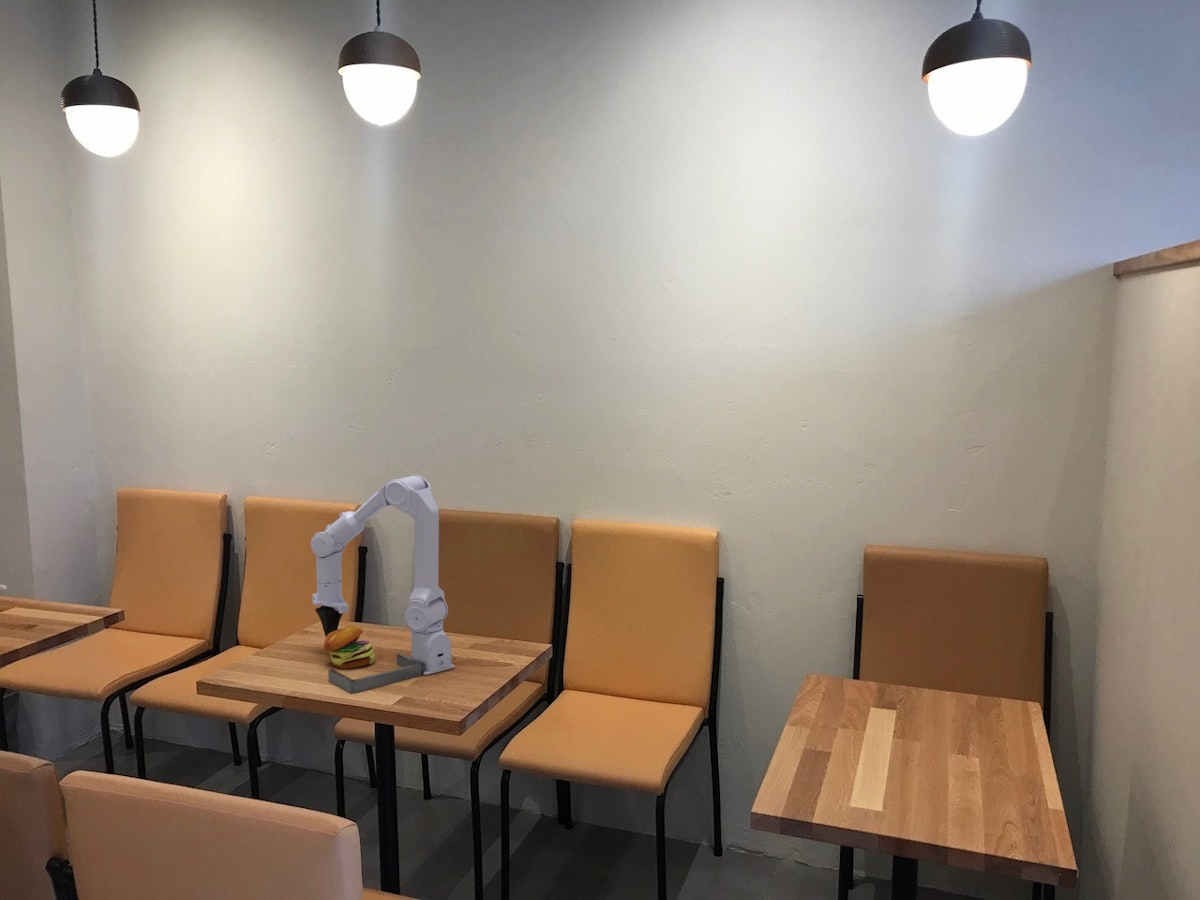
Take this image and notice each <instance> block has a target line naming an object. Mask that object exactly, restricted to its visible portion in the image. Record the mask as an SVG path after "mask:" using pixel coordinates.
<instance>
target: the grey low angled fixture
mask: <svg viewBox="0 0 1200 900" xmlns="http://www.w3.org/2000/svg"><path fill="white" fill-rule="evenodd" d="M396 665H398V666H400V667H399V668H396V669H390V670H387V671H384V672H379V673H375V674H370V675H367V676H363V677H359V678H356V679H353V678H351V677H349V676H347V675H345V674H343V673H342V672H339V671H338V670H335V669H333V668H330V669H328V671H327V672H328V673H327V675H328V676H327V677H328V682H330V683H331V684H333V685H335V686H337V687H339V689H343V690H344V691H346V692H348V693H350V694H351V695H352V694H355V693H360V692H363V691H367V690H371V689H374V688H375V689H376V688H378V687H382V686H386V685H390V684H394V683H398V682H401V681H405V680H409V679H413V678H417V677H421V676H425V675H424V674H423V672H425V664H424V663H422V662H420V661H418V660H415V659H413V658H412V657H411V656H408V655H406V654H404V653H402V652H398V653H396Z"/></svg>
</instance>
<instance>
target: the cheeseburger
mask: <svg viewBox="0 0 1200 900" xmlns="http://www.w3.org/2000/svg"><path fill="white" fill-rule="evenodd" d="M363 632H364V630H363V629H362V628H361V627H360V626H357V625H355V624H350V625H347V626H345V627H343V628H338V630H336V631H333V632H331V633H329V634H328V635H327V637H326V636H325V639H324V643H323V650H324V651H326V652H328V653H329V656H330V661H331V663H332V664H333V666H335V667H336V668H338V669H342V670H346V669H353V668H357V667H362V666H366V665H368V664H369V665H372V664H374V662H375V660H376V654H375V653H374V649H373V647H374V645H373V644H372V643H371V642H370V641H369V640H367V639H366V640H363V639H362V640H359V639H360V638H361V635H362V634H363Z"/></svg>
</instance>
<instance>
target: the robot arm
mask: <svg viewBox="0 0 1200 900" xmlns="http://www.w3.org/2000/svg"><path fill="white" fill-rule="evenodd" d="M432 493H433V492H432V484H430V482H428V481H427V479H425V478H424V477H423V476H421V475H418V474H412V475H409V476H406V477H402V478H394V479H391V480H389V481H388V482H387V483H386V484H384V485H382V486H380V487H379V489H378V490H377V491H376V492H374V494H373V495H371V497H369V499H367V500H366V501H365V502H363V504H362V505H361V506H360V507H359V508H357V510H356V511H352V510H351V511H349V510H348V511H344V512H341V513H339V515H338V517H339V518H337V519H336V520H335V521H334V522H333V523H332V524H328V525H326V526H325V530H324V531H319V532H315V534H314V536H312V537H311V541H310V548H311V552H313V554H314V555H315V559H316V560H315V562H316V563H315V564H316V593H312V594H311V595H312V596H311V597H312V600H311V601H312V605H315V606H320V607H316V608H315V609H314V610H315V612H316V614H317V616H318V618H319V620H320V622H321V626H322V629H323V633H324V636H325V638H326V637H327V635H328V634H329V633H331V632H333V631H336V630H339V624H340V622H341V619H342V616H343V615H344V613H349V604H348V603H347V602H346V601H345V598H343V574H342V570H343V569H342V558H343V552H344V551H345V549H346V546H347V544H348V543H350V542H351V541H352V540H353V539H354V538H356V537H357V536H358V535H360V534H361V533H362V532H363V531H364V529H365V522H367V521H368V520H370V519H371V518H373V517H374V516H375V515H376V514H378V513H380V511H382V510H383V509H385V508H386V507H388V506H392V507H394V508H395V509H398V510H399V511H401V512H404V513H406V514H407V515H408V516H409V517H410V518H412V519H413V520H414V538H413V539H414V542H413V543H414V546H413V548H414V549H413V551H414V553H413V554H414V556H413V557H414V558H413V559H414V560H413V561H414V563H413V564H414V567H413V568H414V571H413V572H414V573H413V577H414V578H413V581H414V582H413V585H414V587H413V590H412V592H411V593H410V596H409V598H408V606H407V608H406V611H405V613H404V619H405V620H404V621H405V623H406V625H407V627H409V630H410V634H411V635H410V644H411V645H410V646H411V648H410V649H411V650H410V651H411V656H410V657H411V658H413V659H415V660H418V661H420V662H422V663H424V664H425V672H423V674H424V675H423V676H427V675H431V674H435V673H440V672H442V671H443V672H444V671H447V670H451V669H454V668H455V667H456V665H454V664H452V641H451V638H450V637H449V636H448V635H447V634H446V633H445V631H444V620H445V618H447V616H448V612H449V608H448V607H449V606H448V604H447V601H446V599H445V598H446V597H445V591H444V590H442V588H441V587H440V586H439V564H440V563H439V556H440V555H439V550H440V545H439V544H440V543H439V541H440V539H439V538H440V537H439V535H440V524H439V523H440V512H439V511H440V510H439V508H438V505H437V503H436V501H435V498H434V496H433V494H432Z"/></svg>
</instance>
